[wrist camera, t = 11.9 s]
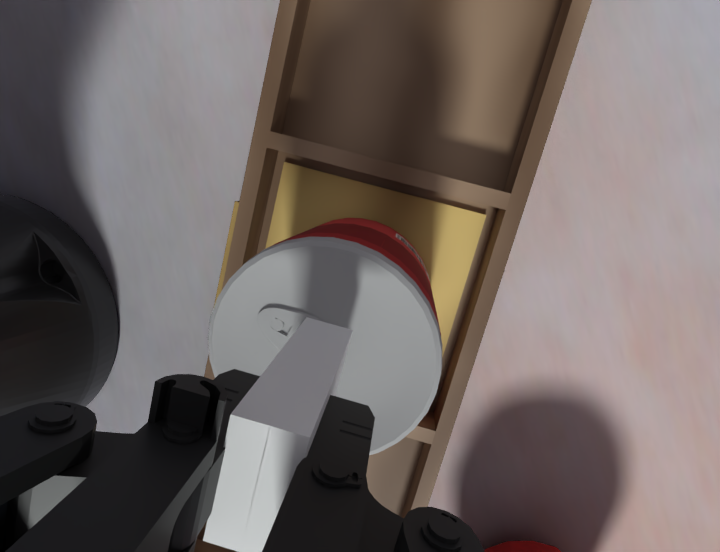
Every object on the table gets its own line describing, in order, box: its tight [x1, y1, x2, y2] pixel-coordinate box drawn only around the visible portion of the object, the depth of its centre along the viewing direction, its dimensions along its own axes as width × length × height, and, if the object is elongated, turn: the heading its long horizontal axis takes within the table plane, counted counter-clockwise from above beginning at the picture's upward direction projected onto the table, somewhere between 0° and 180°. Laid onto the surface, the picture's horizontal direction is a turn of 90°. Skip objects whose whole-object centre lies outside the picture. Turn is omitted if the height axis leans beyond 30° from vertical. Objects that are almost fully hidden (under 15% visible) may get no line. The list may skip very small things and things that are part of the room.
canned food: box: [208, 218, 442, 455], centre depth 21 cm, size 8×8×11 cm
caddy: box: [194, 0, 592, 552], centre depth 26 cm, size 14×39×3 cm, turn 165°
